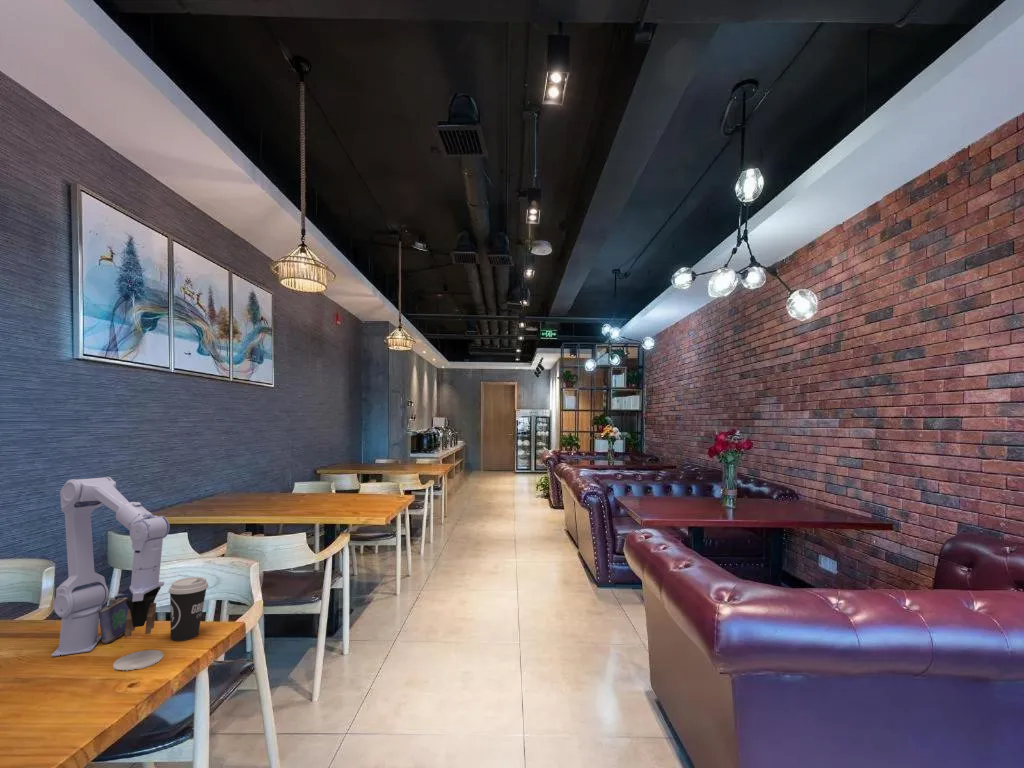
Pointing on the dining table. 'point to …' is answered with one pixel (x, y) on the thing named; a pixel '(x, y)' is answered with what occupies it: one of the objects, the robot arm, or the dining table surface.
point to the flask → (113, 619)
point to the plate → (138, 660)
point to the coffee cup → (186, 607)
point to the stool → (149, 621)
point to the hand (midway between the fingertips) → (141, 622)
